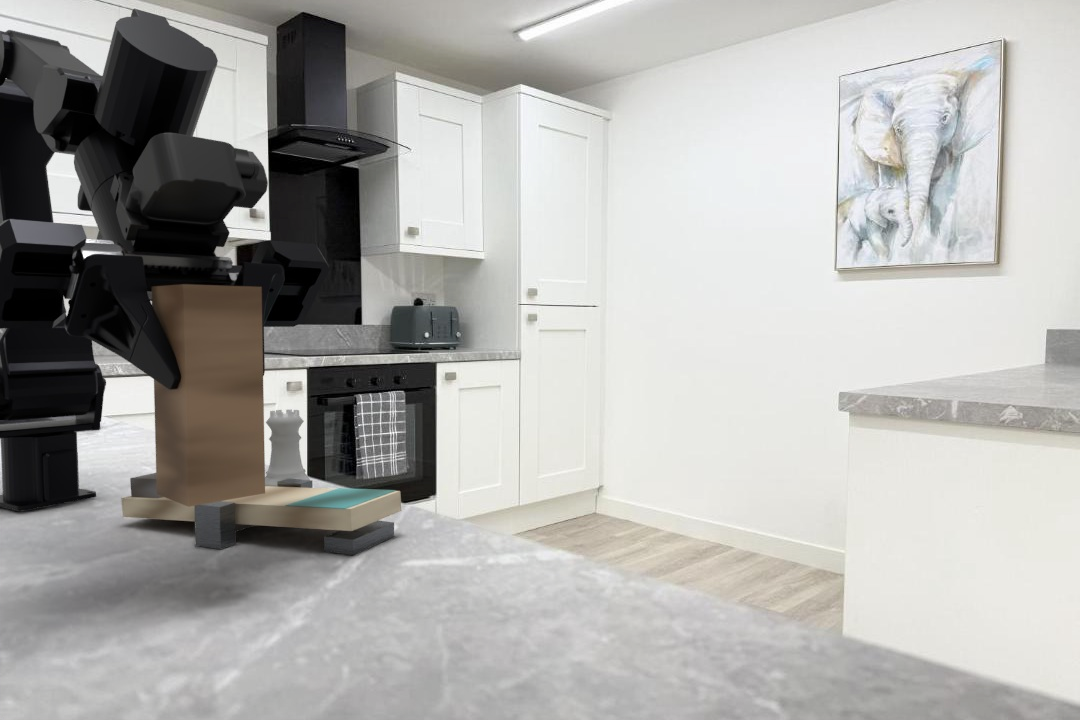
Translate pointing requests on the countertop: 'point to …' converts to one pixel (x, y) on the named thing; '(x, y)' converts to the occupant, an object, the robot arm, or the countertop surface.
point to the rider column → (211, 394)
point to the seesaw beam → (275, 506)
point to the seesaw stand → (220, 516)
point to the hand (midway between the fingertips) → (219, 381)
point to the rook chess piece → (284, 447)
